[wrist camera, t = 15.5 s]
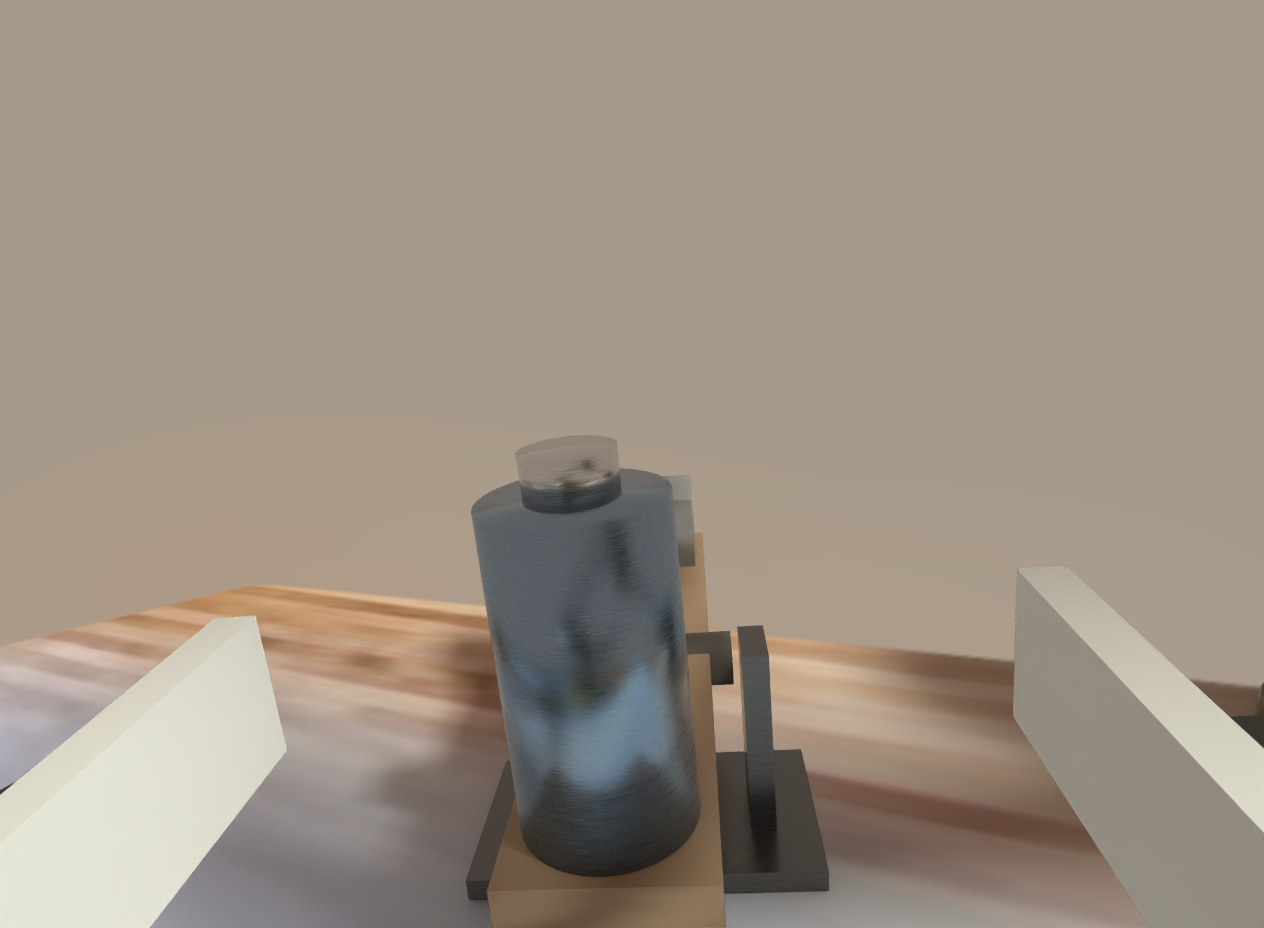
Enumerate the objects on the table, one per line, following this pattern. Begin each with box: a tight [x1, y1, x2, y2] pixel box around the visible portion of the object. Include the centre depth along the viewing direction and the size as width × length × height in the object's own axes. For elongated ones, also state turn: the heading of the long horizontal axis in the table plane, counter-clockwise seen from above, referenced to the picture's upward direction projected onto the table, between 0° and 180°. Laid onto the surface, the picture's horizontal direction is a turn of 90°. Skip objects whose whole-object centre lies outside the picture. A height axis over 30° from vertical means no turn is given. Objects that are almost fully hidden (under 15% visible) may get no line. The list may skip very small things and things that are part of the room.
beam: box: [487, 475, 734, 928], centre depth 39 cm, size 9×30×6 cm, turn 177°
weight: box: [471, 435, 701, 877], centre depth 27 cm, size 6×6×12 cm
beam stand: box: [466, 626, 829, 900], centre depth 41 cm, size 16×9×10 cm, turn 87°
